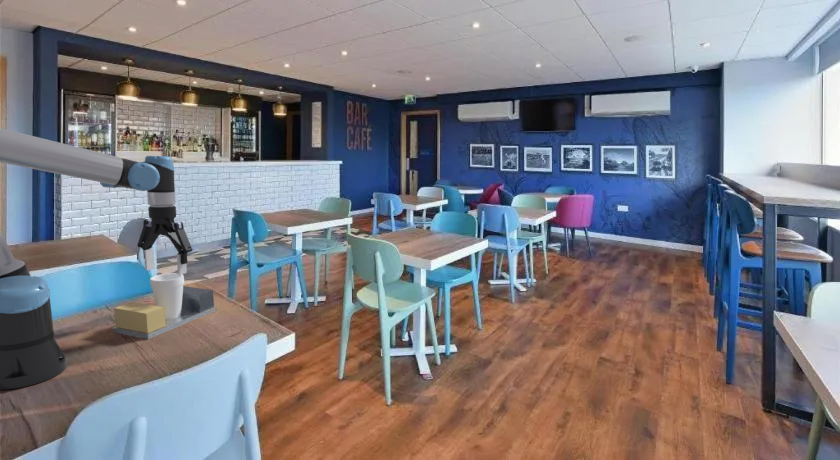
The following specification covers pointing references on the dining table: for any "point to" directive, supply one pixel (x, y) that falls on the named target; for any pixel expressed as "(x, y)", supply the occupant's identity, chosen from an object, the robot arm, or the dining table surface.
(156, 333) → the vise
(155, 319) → the block
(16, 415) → the dining table surface
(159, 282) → the foam cup
